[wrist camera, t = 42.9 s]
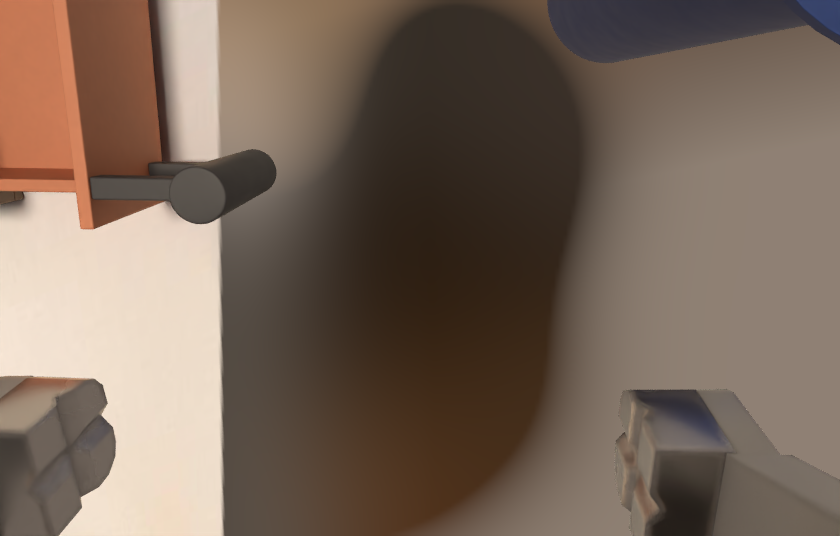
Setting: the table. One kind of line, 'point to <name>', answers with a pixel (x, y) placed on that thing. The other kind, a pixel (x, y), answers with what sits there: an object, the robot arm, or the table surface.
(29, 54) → the orange drawer
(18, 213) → the table surface
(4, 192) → the cubby low
